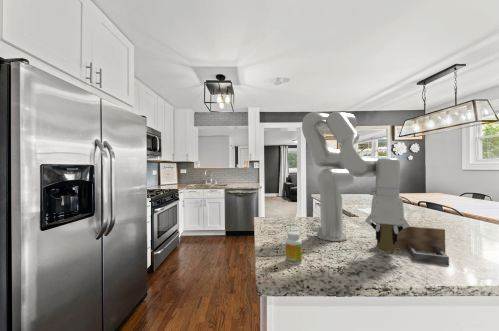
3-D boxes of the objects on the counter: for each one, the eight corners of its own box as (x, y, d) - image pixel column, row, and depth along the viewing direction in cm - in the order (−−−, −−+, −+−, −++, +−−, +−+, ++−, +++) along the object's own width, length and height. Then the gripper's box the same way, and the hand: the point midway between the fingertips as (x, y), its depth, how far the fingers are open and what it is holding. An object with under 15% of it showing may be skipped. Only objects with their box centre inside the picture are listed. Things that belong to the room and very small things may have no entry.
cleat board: (379, 256, 85) (379, 230, 85) (376, 245, 97) (376, 223, 97) (457, 266, 76) (457, 237, 76) (444, 253, 88) (443, 228, 88)
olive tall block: (398, 252, 82) (398, 220, 82) (379, 250, 84) (380, 219, 84) (391, 246, 88) (392, 217, 88) (374, 244, 90) (374, 216, 89)
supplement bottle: (298, 266, 76) (298, 236, 76) (283, 262, 79) (282, 233, 79) (304, 260, 81) (303, 232, 81) (289, 257, 84) (289, 230, 84)
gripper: (361, 192, 86) (360, 242, 86) (417, 195, 79) (415, 249, 79) (361, 189, 93) (360, 236, 93) (412, 192, 86) (411, 243, 86)
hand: (386, 242), depth 86 cm, fingers closed on olive tall block, 3 cm apart
